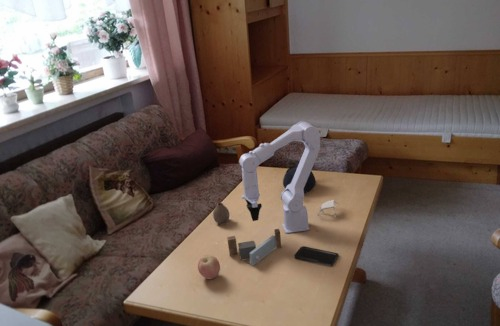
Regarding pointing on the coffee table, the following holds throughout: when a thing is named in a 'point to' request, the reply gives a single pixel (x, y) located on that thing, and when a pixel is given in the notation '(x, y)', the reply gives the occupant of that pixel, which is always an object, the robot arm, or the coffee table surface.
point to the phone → (316, 256)
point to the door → (262, 250)
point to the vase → (221, 214)
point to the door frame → (233, 245)
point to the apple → (209, 266)
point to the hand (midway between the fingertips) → (253, 215)
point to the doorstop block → (246, 249)
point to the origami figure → (328, 205)
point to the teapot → (290, 175)
